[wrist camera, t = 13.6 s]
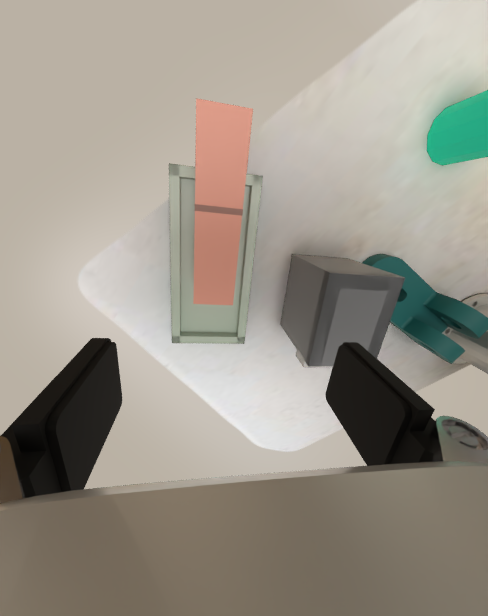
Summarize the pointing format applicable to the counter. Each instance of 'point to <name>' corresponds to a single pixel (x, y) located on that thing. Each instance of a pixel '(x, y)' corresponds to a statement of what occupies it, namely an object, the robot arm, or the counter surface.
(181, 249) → the tray
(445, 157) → the candle
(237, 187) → the terracotta pink bar
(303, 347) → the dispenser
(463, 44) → the counter surface
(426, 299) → the bracket
